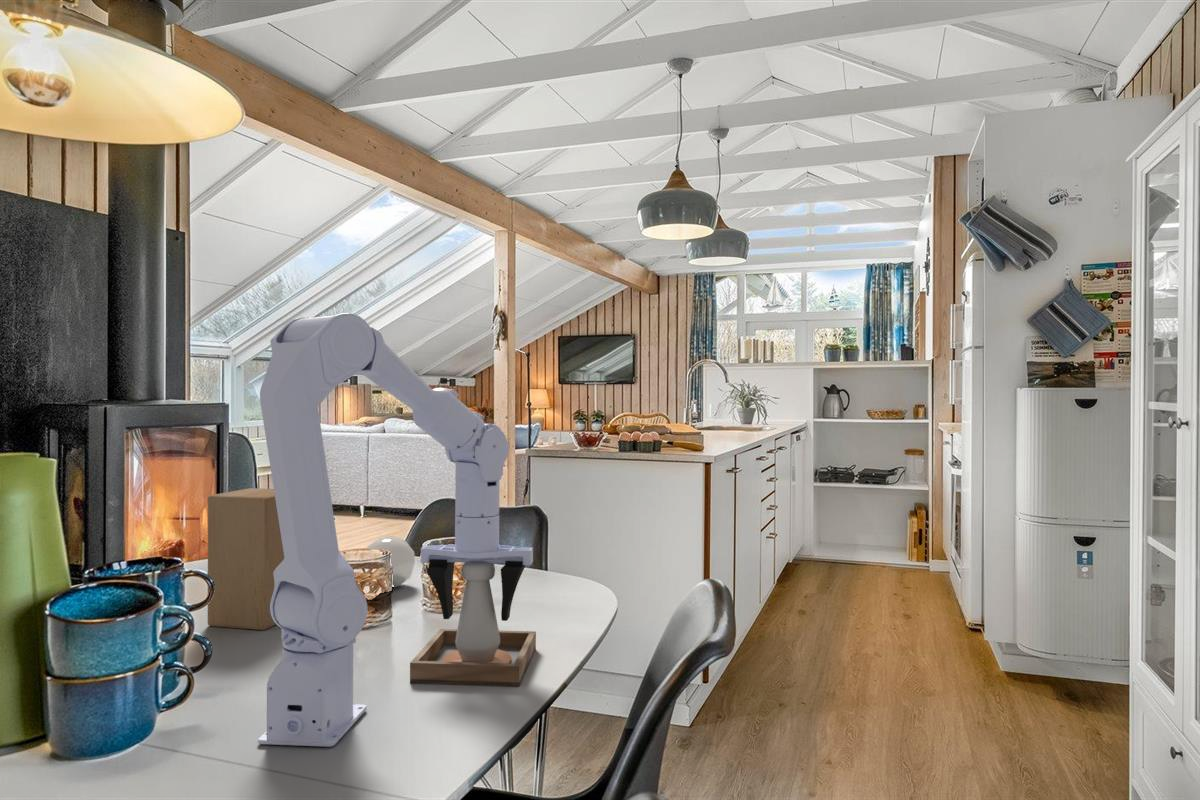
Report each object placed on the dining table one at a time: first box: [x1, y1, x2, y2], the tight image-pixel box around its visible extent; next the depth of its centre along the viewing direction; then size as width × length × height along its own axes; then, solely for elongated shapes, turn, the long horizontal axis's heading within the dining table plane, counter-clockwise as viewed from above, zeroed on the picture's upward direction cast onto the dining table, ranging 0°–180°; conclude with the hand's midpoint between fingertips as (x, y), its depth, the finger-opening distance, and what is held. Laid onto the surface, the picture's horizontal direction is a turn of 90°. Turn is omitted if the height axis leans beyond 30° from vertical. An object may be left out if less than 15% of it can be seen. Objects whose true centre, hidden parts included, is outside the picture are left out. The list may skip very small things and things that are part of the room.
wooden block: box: [207, 487, 284, 631], centre depth 120 cm, size 10×10×20 cm
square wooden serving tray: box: [409, 628, 537, 688], centre depth 101 cm, size 14×14×2 cm
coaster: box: [442, 649, 511, 664], centre depth 101 cm, size 9×9×1 cm
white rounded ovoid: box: [366, 535, 416, 589], centre depth 138 cm, size 9×10×15 cm
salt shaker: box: [455, 561, 500, 663], centre depth 100 cm, size 6×6×13 cm
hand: (476, 617), depth 100 cm, fingers open, 7 cm apart
